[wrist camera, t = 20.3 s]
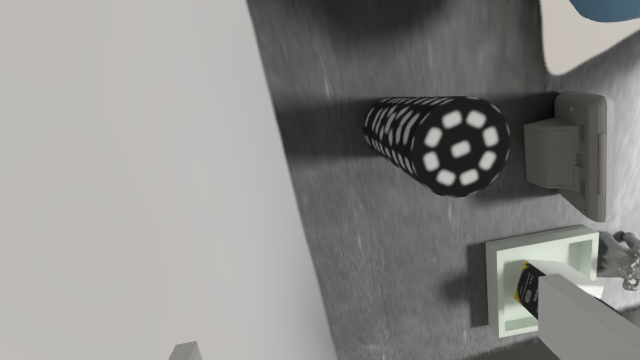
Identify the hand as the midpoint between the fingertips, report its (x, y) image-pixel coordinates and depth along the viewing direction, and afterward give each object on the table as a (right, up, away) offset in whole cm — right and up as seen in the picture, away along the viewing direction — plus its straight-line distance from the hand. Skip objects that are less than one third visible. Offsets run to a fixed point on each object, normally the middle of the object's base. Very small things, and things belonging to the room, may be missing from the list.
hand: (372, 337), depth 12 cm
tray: (+34, -10, +41) cm, 54 cm away
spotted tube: (+8, +14, +33) cm, 37 cm away
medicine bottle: (+34, -10, +40) cm, 53 cm away
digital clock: (+33, +11, +35) cm, 49 cm away
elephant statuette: (+48, -5, +41) cm, 63 cm away
